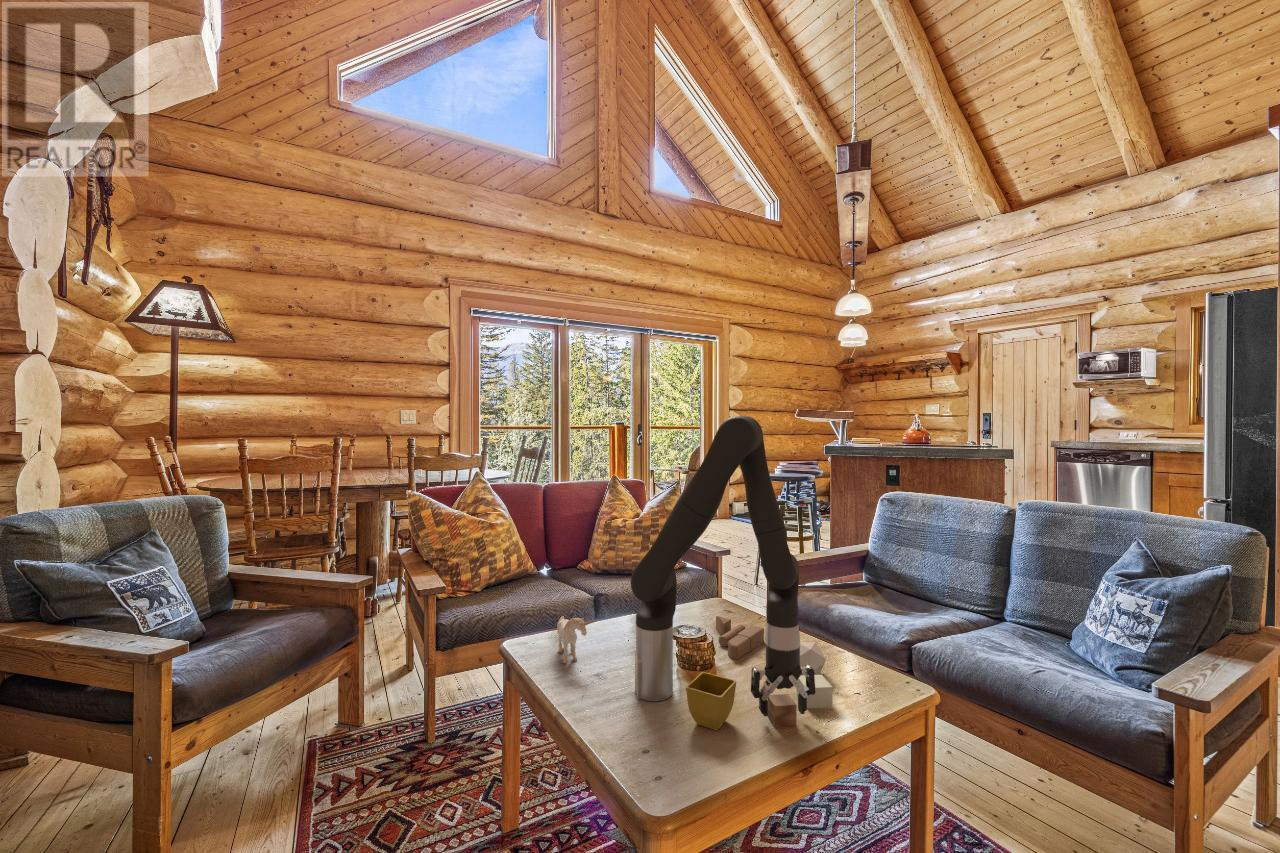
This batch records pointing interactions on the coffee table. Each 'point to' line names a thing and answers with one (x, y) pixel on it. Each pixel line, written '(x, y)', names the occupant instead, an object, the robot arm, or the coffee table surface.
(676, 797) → the coffee table surface
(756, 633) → the wooden block set
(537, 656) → the coffee table surface
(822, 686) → the sage block
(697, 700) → the flower pot
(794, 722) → the walnut block
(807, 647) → the die
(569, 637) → the unicorn figurine
